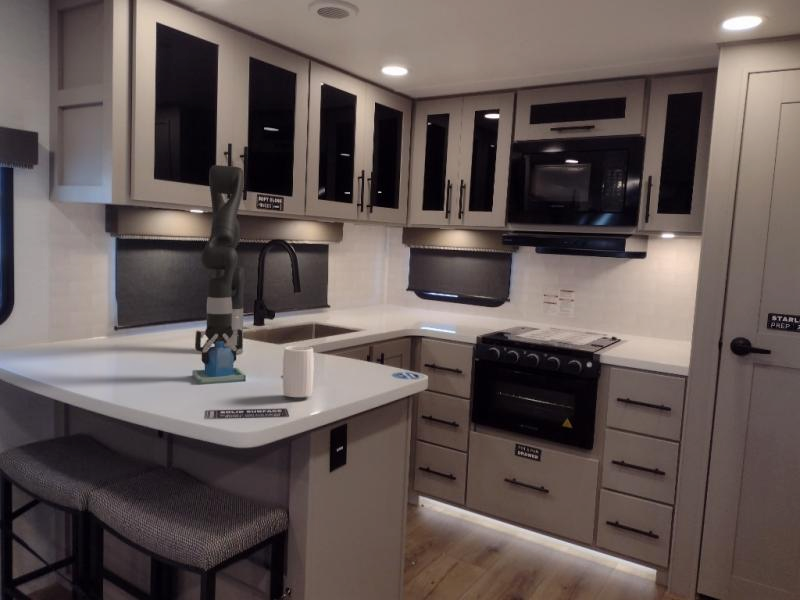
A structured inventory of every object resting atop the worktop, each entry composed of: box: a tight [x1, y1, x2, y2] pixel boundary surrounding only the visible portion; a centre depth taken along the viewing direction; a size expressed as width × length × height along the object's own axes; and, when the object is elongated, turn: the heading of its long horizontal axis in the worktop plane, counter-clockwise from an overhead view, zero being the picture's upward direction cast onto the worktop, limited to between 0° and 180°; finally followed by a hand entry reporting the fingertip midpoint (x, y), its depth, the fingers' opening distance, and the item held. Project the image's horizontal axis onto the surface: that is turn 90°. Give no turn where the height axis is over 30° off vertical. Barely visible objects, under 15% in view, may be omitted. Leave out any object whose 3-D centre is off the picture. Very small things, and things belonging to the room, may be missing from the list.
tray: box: [191, 367, 247, 386], centre depth 187 cm, size 12×14×2 cm
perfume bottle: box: [204, 337, 235, 377], centre depth 187 cm, size 6×6×12 cm
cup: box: [282, 345, 315, 398], centre depth 167 cm, size 8×8×14 cm
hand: (218, 363), depth 187 cm, fingers closed on perfume bottle, 8 cm apart
